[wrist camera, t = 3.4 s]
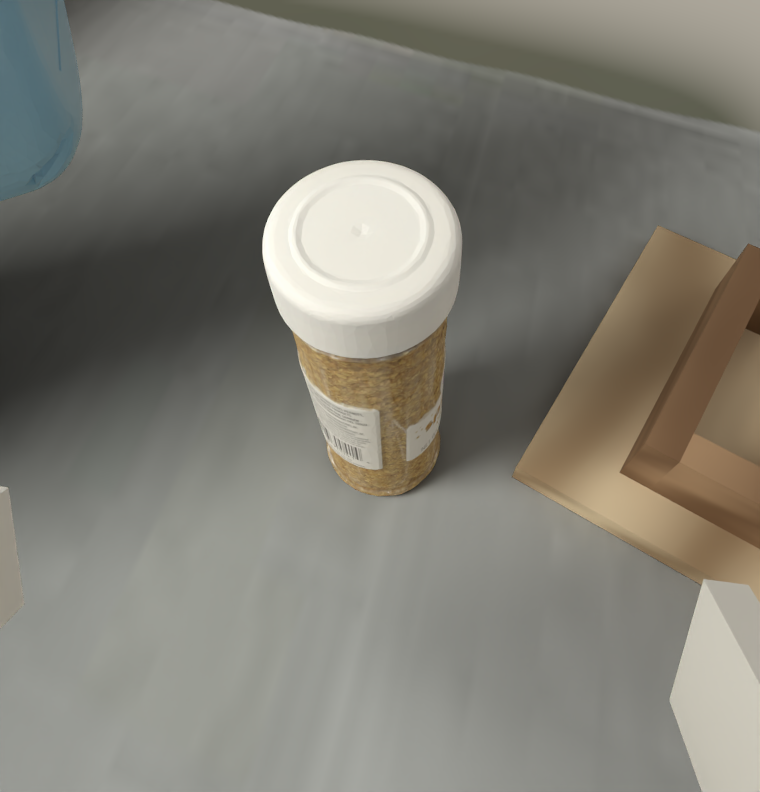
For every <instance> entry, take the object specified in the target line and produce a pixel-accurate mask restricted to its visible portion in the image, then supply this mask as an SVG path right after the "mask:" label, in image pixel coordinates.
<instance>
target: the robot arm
mask: <svg viewBox="0 0 760 792" xmlns="http://www.w3.org/2000/svg"><path fill="white" fill-rule="evenodd" d="M81 130H82V95H81V87H80V79H79V72H78V66H77V60H76V55H75V50H74V45H73V40H72V35H71V30H70V26H69V21H68V17H67V12H66V7H65V3H64V0H0V201H3V200H6V199H9V198H12V197H15V196H19V195H22V194H25V193H28V192H31V191H34V190H37V189H39V188H41V187H43V186H45V185H47V184H48V183H50V182H52V181H53V180H55V179H56V178H57V177H58V176H59V175H60V174H62V172H63V171H64V170H65V169H66V168H67V166H68V165H69V164H70V162H71V160H72V158H73V156H74V154H75V151H76V149H77V146H78V143H79V140H80V136H81ZM23 605H24V597H23V590H22V583H21V575H20V568H19V560H18V553H17V546H16V538H15V531H14V524H13V516H12V509H11V502H10V494H9V487H2V486H0V628H1V627H2V626H3V625H4V624H5V623H6V622H7V621H8V620H9V619H10V618H11V617H12V616H13V615H14V614H15V613H16V612H17V611H18V610H19V609H20V608H21V607H22V606H23ZM669 701H670V703H671V706H672V709H673V712H674V715H675V717H676V720H677V723H678V726H679V729H680V732H681V734H682V737H683V740H684V743H685V746H686V748H687V751H688V754H689V757H690V760H691V762H692V765H693V768H694V771H695V774H696V777H697V779H698V782H699V785H700V788H701V791H702V792H760V602H759V601H758V599H757V598H756V596H755V594H754V593H753V591H752V590H751V588H750V586H749V585H745V584H737V583H730V582H722V581H715V580H707V579H703V583H702V587H701V590H700V594H699V597H698V601H697V604H696V608H695V611H694V615H693V618H692V622H691V625H690V629H689V632H688V636H687V639H686V643H685V646H684V650H683V653H682V657H681V660H680V664H679V667H678V671H677V674H676V678H675V681H674V685H673V688H672V692H671V695H670V699H669Z"/></svg>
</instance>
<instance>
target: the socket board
mask: <svg viewBox="0 0 760 792" xmlns="http://www.w3.org/2000/svg"><path fill="white" fill-rule="evenodd" d="M512 477H513V478H515V479H517V480H518V481H520V482H522V483H524V484H525V485H527V486H529V487H531V488H532V489H534V490H536V491H538V492H539V493H541V494H543V495H545V496H546V497H548V498H550V499H552V500H553V501H555V502H557V503H559V504H560V505H562V506H564V507H566V508H567V509H569V510H571V511H573V512H574V513H576V514H578V515H580V516H581V517H583V518H585V519H587V520H588V521H590V522H592V523H594V524H595V525H597V526H599V527H601V528H602V529H604V530H606V531H608V532H609V533H611V534H613V535H615V536H616V537H618V538H620V539H622V540H623V541H625V542H627V543H629V544H630V545H632V546H634V547H636V548H637V549H639V550H641V551H643V552H644V553H646V554H648V555H650V556H651V557H653V558H655V559H657V560H658V561H660V562H662V563H664V564H665V565H667V566H669V567H671V568H672V569H674V570H676V571H678V572H679V573H681V574H683V575H685V576H686V577H688V578H690V579H692V580H693V581H695V582H697V583H699V584H700V585H702V583H703V579H707V580H715V581H722V582H730V583H737V584H745V585H749V586H750V588H751V590H752V591H753V593H754V594H755V596H756V598H757V599H758V601H759V602H760V248H757V247H755V246H753V245H750V244H748V245H747V246H746V248H745V249H744V250H743V252H742V253H741V254H740V256H739V257H738V258H737V260H736V259H734V258H731V257H729V256H727V255H724V254H722V253H720V252H718V251H715V250H713V249H711V248H709V247H706V246H704V245H702V244H699V243H697V242H695V241H693V240H690V239H688V238H686V237H683V236H681V235H679V234H677V233H674V232H672V231H670V230H668V229H665V228H663V227H661V226H657V228H656V230H655V231H654V233H653V235H652V236H651V238H650V240H649V241H648V243H647V245H646V247H645V248H644V250H643V252H642V253H641V255H640V257H639V259H638V260H637V262H636V264H635V265H634V267H633V269H632V270H631V272H630V274H629V276H628V277H627V279H626V281H625V282H624V284H623V286H622V287H621V289H620V291H619V293H618V294H617V296H616V298H615V299H614V301H613V303H612V305H611V306H610V308H609V310H608V311H607V313H606V315H605V316H604V318H603V320H602V322H601V323H600V325H599V327H598V328H597V330H596V332H595V333H594V335H593V337H592V339H591V340H590V342H589V344H588V345H587V347H586V349H585V351H584V352H583V354H582V356H581V357H580V359H579V361H578V362H577V364H576V366H575V368H574V369H573V371H572V373H571V374H570V376H569V378H568V379H567V381H566V383H565V385H564V386H563V388H562V390H561V391H560V393H559V395H558V397H557V398H556V400H555V402H554V403H553V405H552V407H551V408H550V410H549V412H548V414H547V415H546V417H545V419H544V420H543V422H542V424H541V425H540V427H539V429H538V431H537V432H536V434H535V436H534V437H533V439H532V441H531V443H530V444H529V446H528V448H527V449H526V451H525V453H524V454H523V456H522V458H521V460H520V461H519V463H518V465H517V466H516V468H515V471H514V473H513V475H512Z"/></svg>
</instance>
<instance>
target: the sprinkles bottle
mask: <svg viewBox="0 0 760 792" xmlns="http://www.w3.org/2000/svg"><path fill="white" fill-rule="evenodd" d="M262 254H263V261H264V266H265V270H266V273H267V277H268V280H269V284H270V287H271V291H272V294H273V297H274V300H275V303H276V305H277V308H278V310H279V313H280V315H281V316H282V318H283V319H284V321H285V323H286V324H287V325H288V326H289V327H290V329H291V330H292V332H293V335H294V338H295V341H296V345H297V349H298V357H299V363H300V366H301V369H302V372H303V375H304V377H305V381H306V384H307V387H308V390H309V393H310V396H311V399H312V402H313V405H314V408H315V411H316V414H317V417H318V420H319V423H320V426H321V429H322V432H323V434H324V437H325V439H326V440H327V451H328V456H329V459H330V461H331V463H332V465H333V468H334V469H335V471H336V472H337V473H338V475H339V476H340V478H341V479H342V480H343V481H344V482H345V483H347V484H348V485H350V486H351V487H353V488H354V489H356V490H358V491H360V492H363V493H366V494H370V495H376V496H390V495H399V494H402V493H404V492H406V491H409V490H411V489H412V488H414V487H415V486H417V485H418V484H419V483H420V482H421V481H422V480H423V479H425V478H426V476H427V475H428V474H429V473H430V472H431V470H432V469H433V467H434V465H435V463H436V460H437V457H438V455H439V449H440V433H439V431H438V427H439V424H440V419H441V410H442V393H443V382H444V370H445V356H446V346H445V336H446V329H447V316H448V314H449V312H450V311H451V309H452V307H453V304H454V302H455V299H456V295H457V292H458V287H459V280H460V272H461V257H462V232H461V226H460V222H459V219H458V216H457V214H456V211H455V209H454V207H453V206H452V204H451V202H450V201H449V199H448V198H447V197H446V195H445V194H444V193H443V192H442V191H441V189H440V188H439V187H437V186H436V185H435V184H434V183H433V182H431V181H430V180H429V179H427V178H426V177H425V176H423V175H421V174H420V173H418V172H416V171H414V170H411V169H409V168H407V167H404V166H401V165H397V164H394V163H389V162H383V161H375V160H356V161H347V162H341V163H337V164H334V165H330V166H327V167H325V168H322V169H320V170H317V171H315V172H313V173H311V174H309V175H308V176H306V177H304V178H303V179H301V180H300V181H298V182H297V183H296V184H294V185H293V186H292V187H291V188H290V189H289V190H287V191H286V192H285V194H284V195H283V196H282V197H281V198H280V199H279V201H278V202H277V203H276V205H275V206H274V208H273V210H272V212H271V214H270V216H269V218H268V220H267V223H266V226H265V229H264V234H263V243H262Z"/></svg>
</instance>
